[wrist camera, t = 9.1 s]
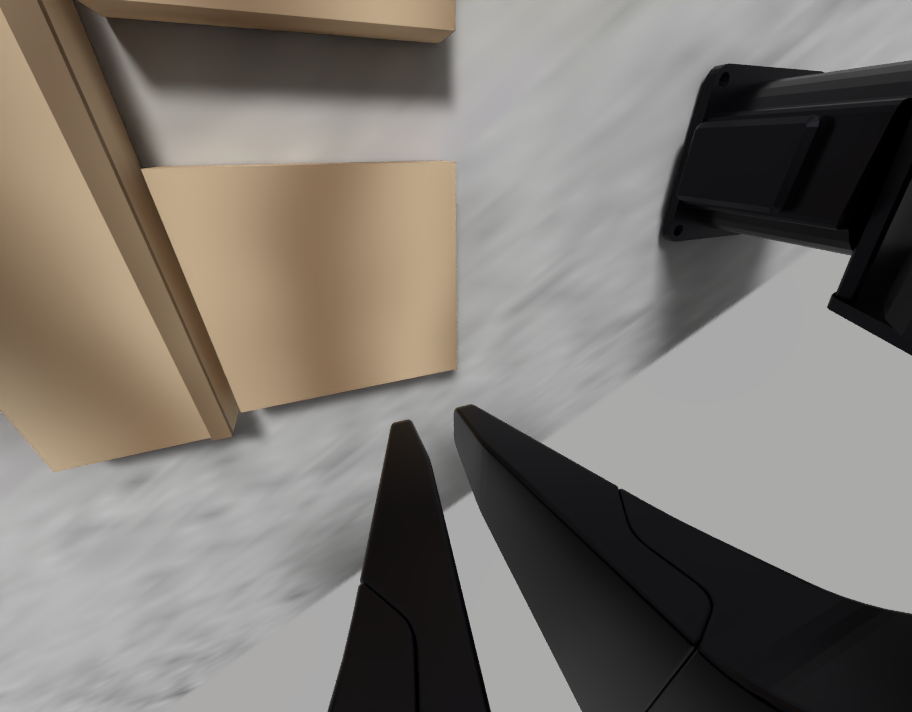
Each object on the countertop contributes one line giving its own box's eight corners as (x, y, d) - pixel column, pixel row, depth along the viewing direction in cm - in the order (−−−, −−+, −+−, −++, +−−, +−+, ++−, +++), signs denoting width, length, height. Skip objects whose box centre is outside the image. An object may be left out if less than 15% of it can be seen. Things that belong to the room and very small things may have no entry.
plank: (441, 160, 12) (455, 162, 11) (446, 353, 16) (456, 368, 15) (160, 166, 10) (140, 169, 8) (246, 390, 13) (241, 412, 12)
